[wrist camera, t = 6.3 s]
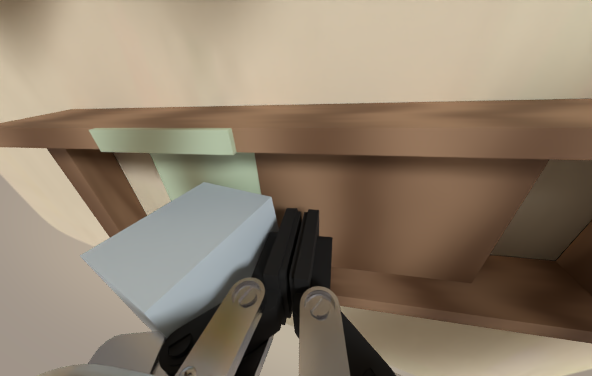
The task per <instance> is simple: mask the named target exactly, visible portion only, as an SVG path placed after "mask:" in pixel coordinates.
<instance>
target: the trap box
mask: <svg viewBox="0 0 592 376" xmlns="http://www.w3.org/2000/svg"><path fill="white" fill-rule="evenodd" d="M0 147H21V148H47V149H48V151H49V152H50V154H51V155H52V156H53V158H54V159H55V161H56V162H57V164H58V165H59V166H60V168H61V169H62V171H63V172H64V173H65V175H66V176H67V178H68V179H69V180H70V182H71V183H72V185H73V186H74V187H75V189H76V190H77V192H78V193H79V195H80V196H81V197H82V199H83V200H84V202H85V203H86V204H87V206H88V207H89V209H90V210H91V211H92V213H93V214H94V216H95V217H96V218H97V220H98V221H99V223H100V224H101V226H102V227H103V228H104V230H105V231H106V233H107V234H108V235H109V237H112V236H114V235H115V234H117V233H119V232H121V231H122V230H124V229H126V228H127V227H129V226H131V225H132V224H134V223H136V222H137V221H139V220H141V219H142V218H144V217H146V216H147V215H146V213H145V212H144V210H143V208H142V206H141V204H140V202H139V201H138V199H137V197H136V195H135V193H134V191H133V190H132V188H131V186H130V184H129V182H128V180H127V178H126V177H125V175H124V173H123V171H122V169H121V167H120V166H119V164H118V162H117V160H116V158H115V156H114V155H113V153H112V152H126V153H150V155H151V157H152V159H153V161H154V164H155V166H156V168H157V170H158V173H159V175H160V177H161V179H162V182H163V184H164V186H165V188H166V191H167V193H168V195H169V197H170V200H171V201H173V200H175V199H176V198H178V197H180V196H181V195H183V194H185V193H186V192H188V191H190V190H191V189H193V188H195V187H196V186H198V185H200V184H201V183H203V182H206V183H211V184H215V185H220V186H224V187H229V188H233V189H238V190H243V191H247V192H252V193H256V194H261V195H265V196H270V197H272V202H273V206H274V210H275V215H276V219H277V223H278V227H279V228H280V225H281V222H282V219H283V217H284V214H285V211H286V209H287V208H297V209H298V211H300V212H301V213H302V219H303V214H304V212H308V209H312V210H319V236H325V237H333V239H332V262H331V285H330V290H331V291H332V292H333V293H334V294H335V295H336V296H337V298H338V301H339V304H340V306H346V307H353V308H360V309H366V310H373V311H380V312H386V313H393V314H400V315H406V316H413V317H420V318H426V319H433V320H439V321H446V322H453V323H459V324H466V325H473V326H479V327H486V328H493V329H499V330H506V331H513V332H519V333H526V334H533V335H539V336H546V337H553V338H559V339H566V340H572V341H579V342H586V343H592V221H591V222H590V223H589V224H588V225H587V227H586V228H585V229H584V230H583V231H582V232H581V233H580V234H579V236H578V237H577V238H576V239H575V240H574V241H573V242H572V243H571V244H570V246H569V247H568V248H567V249H566V250H565V251H564V252H563V253H562V255H561V256H560V257H559V258H558V259H557V260H556V261H548V260H538V259H527V258H517V257H506V256H496V255H490V253H491V252H492V250H493V248H494V247H495V245H496V244H497V242H498V241H499V239H500V237H501V236H502V234H503V233H504V231H505V229H506V228H507V226H508V225H509V223H510V222H511V220H512V218H513V217H514V215H515V214H516V212H517V210H518V209H519V207H520V206H521V204H522V202H523V201H524V199H525V198H526V196H527V195H528V193H529V191H530V190H531V188H532V187H533V185H534V183H535V182H536V180H537V179H538V177H539V176H540V174H541V172H542V171H543V169H544V168H545V166H546V164H547V163H548V161H549V160H550V159H556V160H592V99H553V100H505V101H456V102H408V103H359V104H311V105H262V106H214V107H165V108H117V109H71V110H66V111H61V112H56V113H50V114H45V115H40V116H35V117H30V118H25V119H20V120H15V121H9V122H4V123H0Z"/></svg>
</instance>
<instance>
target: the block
mask: <svg viewBox="0 0 592 376" xmlns="http://www.w3.org/2000/svg"><path fill="white" fill-rule="evenodd" d="M278 231H279V227H278V223H277V219H276V215H275V210H274V206H273V202H272V197H270V196H265V195H261V194H256V193H252V192H247V191H243V190H238V189H233V188H229V187H224V186H220V185H215V184H211V183H206V182H203V183H201V184H200V185H198V186H196V187H195V188H193V189H191V190H190V191H188V192H186V193H185V194H183V195H181V196H180V197H178V198H176V199H175V200H173V201H171V202H169V203H168V204H166V205H164V206H163V207H161V208H159V209H158V210H156V211H154V212H153V213H151V214H149V215H148V216H146V217H144V218H142V219H141V220H139V221H137V222H136V223H134V224H132V225H131V226H129V227H127V228H126V229H124V230H122V231H121V232H119V233H117V234H115V235H114V236H112V237H110V238H109V239H107V240H105V241H104V242H102V243H100V244H99V245H97V246H95V247H94V248H92V249H90V250H89V251H87V252H85V253H83V254H82V255H80V256H81V258H82V259H83V260H84V261H85V262H86V263H87V264H88V265H89V266H90V267H91V268H92V269H93V270H94V271H95V272H96V273H97V274H98V275H99V276H100V277H101V279H103V281H104V282H105V283H106V284H107V285H108V286H109V287H110V288H111V289H112V290H113V291H114V292H115V293H116V294H117V295H118V296H119V297H120V298H121V300H123V302H124V303H125V304H126V305H127V306H128V307H129V308H130V309H131V310H132V311H133V312H134V313H135V314H136V315H137V316H138V317H139V318H140V319H141V321H143V323H144V324H145V325H146V326H148V327H149V328H150V329H151V330H152V331H160V332H161V333H162V334H163V335H164V336H165V337H166V338H168V337H169V336H170V335H171V334H172V333H173V332H174V331H175V330H177V329H178V328H180V327H181V326H183V325H185V324H186V323H188V322H190V321H191V320H193V319H195V318H196V317H198V316H200V315H201V314H203V313H205V312H206V311H208V310H210V309H211V308H213V307H215V306H216V305H218V304H220V303H221V302H222V301H223V300H224V298H225V297H226V295H227V294H228V292H229V290H230V289H231V288H232V286H233V285H234V284H235V283H237V282H238V281H239V280H241V279H244V278H248V277H251V276H252V274H253V271H254V269H255V266H256V264H257V261H258V259H259V257H260V254H261V252H262V249H263V247H264V244H265V242H266V239H267V237H268V235H269V233H270V232H278Z"/></svg>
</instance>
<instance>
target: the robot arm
mask: <svg viewBox="0 0 592 376" xmlns="http://www.w3.org/2000/svg"><path fill="white" fill-rule="evenodd" d="M332 239H333V237H325V236H319V210H312V209H308V212H304V214H303V219H302V213H301V212H300V211H298V209H297V208H287V209H286V211H285V214H284V217H283V219H282V222H281V225H280V228H279V231H278V232H270V233H269V235H268V237H267V239H266V242H265V244H264V247H263V249H262V252H261V254H260V257H259V259H258V261H257V264H256V266H255V269H254V271H253V274H252V276H251V277H248V278H244V279H241V280H239V281H238V282H237V283H235V284H234V285H233V286H232V288H231V289H230V290H229V292H228V294H227V295H226V297H225V298H224V300H223V301H222V302H221V303H220V304H218V305H216V306H215V307H213V308H211V309H210V310H208V311H206V312H205V313H203V314H201V315H200V316H198V317H196V318H195V319H193V320H191V321H190V322H188V323H186V324H185V325H183V326H181V327H180V328H178V329H177V330H175V331H174V332H173V333H172V334H171V335H170V336H169V337H168V338H166V337H165V336H164V335H163V334H162V333H161V332H160V331H152V332H143V333H131V334H121V335H118V336H114V337H113V338H111V339H109V340H108V341H106V342H105V343H104V344H103V345H102V346H100V347H99V349H98V350H97V351H96V352H95V354H94V355H93V357H92V358H91V360H90V361H89V363H88V364H80V365H72V366H66V367H61V368H57V369H54V370H51V371H48V372H45V373H43V374H40V375H37V376H259V375H260V372H261V369H262V367H263V364H264V361H265V358H266V356H267V353H268V351H269V348H270V345H271V343H272V340H273V336H274V334H275V333H276V332H278V331H279V330H280V328H281V324H282V325H285V323H286V318H291V314H292V312H293V320H294V329H295V333H296V335H297V336H298V338H299V376H401V375H399V374H397V373H394V372H393V371H392V369H391V368H390V367H389V366H388V364H387V363H386V362H385V361H384V360H383V359H382V358H381V356H380V355H379V354H378V353H377V352H376V351H375V350H374V348H373V347H372V346H371V345H370V344H369V343H368V342H367V340H366V339H365V338H364V337H363V336H362V335H361V334H360V333H359V331H358V330H357V329H356V328H355V327H354V326H353V325H352V323H351V322H350V321H349V320H348V319H347V318H346V317H345V315H344V314H343V313H342V312H341V310H340V304H339V301H338V298H337V296H336V295H335V294H334V293H333V292H332V291H331V290H330V285H331V262H332Z"/></svg>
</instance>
